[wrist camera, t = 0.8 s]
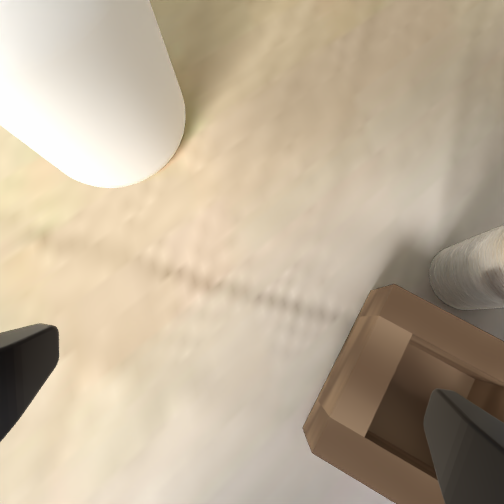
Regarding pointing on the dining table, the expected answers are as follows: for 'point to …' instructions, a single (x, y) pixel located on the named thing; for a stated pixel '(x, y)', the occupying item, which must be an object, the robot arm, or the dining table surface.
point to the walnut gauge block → (400, 392)
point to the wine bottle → (90, 87)
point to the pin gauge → (471, 272)
